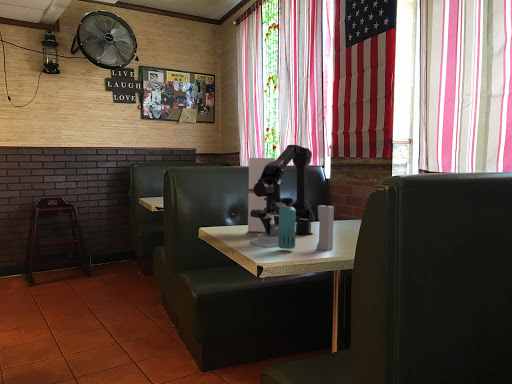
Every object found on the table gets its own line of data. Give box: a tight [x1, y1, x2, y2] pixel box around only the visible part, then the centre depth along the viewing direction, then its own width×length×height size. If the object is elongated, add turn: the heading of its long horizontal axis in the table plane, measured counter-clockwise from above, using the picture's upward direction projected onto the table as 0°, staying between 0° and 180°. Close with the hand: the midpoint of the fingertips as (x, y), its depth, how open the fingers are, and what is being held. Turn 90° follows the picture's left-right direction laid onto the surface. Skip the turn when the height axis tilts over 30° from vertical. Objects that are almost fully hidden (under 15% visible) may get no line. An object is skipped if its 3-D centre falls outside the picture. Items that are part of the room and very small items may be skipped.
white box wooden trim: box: [247, 157, 277, 237], centre depth 181 cm, size 11×11×35 cm
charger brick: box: [265, 223, 279, 237], centre depth 160 cm, size 4×5×5 cm
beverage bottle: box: [278, 197, 297, 250], centre depth 146 cm, size 6×7×20 cm
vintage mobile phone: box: [316, 184, 335, 252], centre depth 150 cm, size 4×5×25 cm
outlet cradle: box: [249, 233, 279, 249], centre depth 160 cm, size 14×12×4 cm
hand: (272, 233), depth 160 cm, fingers closed on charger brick, 4 cm apart
